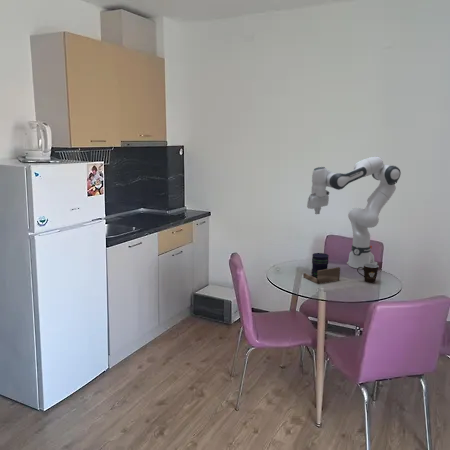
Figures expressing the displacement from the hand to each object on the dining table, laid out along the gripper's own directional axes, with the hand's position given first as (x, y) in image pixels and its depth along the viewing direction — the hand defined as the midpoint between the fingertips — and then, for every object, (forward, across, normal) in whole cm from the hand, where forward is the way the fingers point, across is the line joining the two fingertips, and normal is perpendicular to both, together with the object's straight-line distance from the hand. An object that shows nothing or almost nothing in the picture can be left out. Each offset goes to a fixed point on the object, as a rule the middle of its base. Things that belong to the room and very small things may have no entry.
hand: (317, 214), depth 288 cm
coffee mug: (+37, +2, -36) cm, 52 cm away
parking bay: (+37, -14, -13) cm, 42 cm away
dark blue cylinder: (+37, -14, -12) cm, 42 cm away
